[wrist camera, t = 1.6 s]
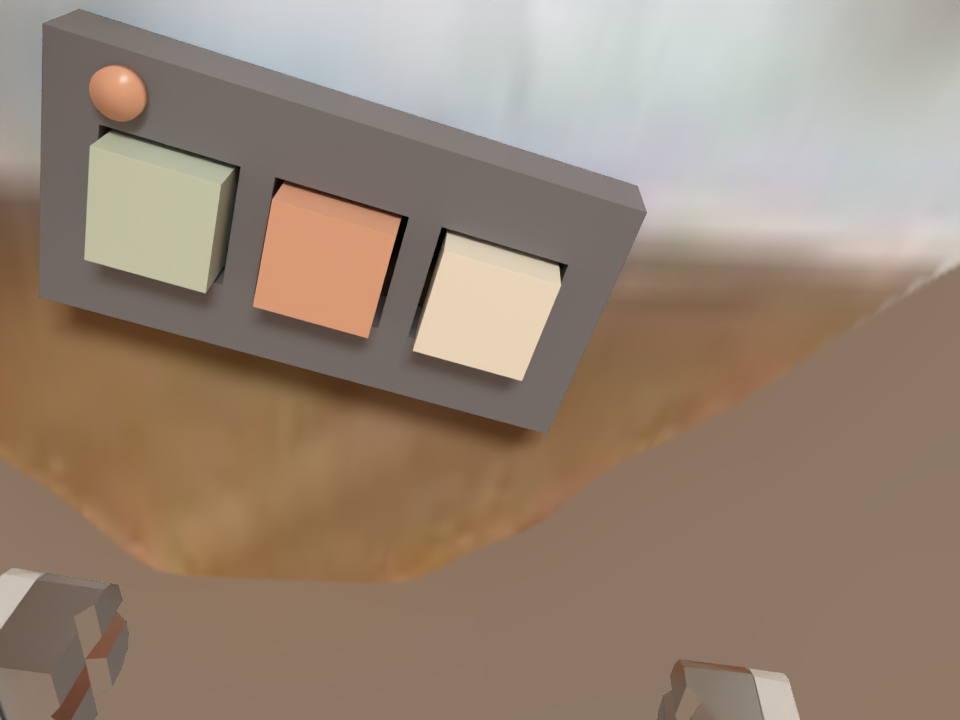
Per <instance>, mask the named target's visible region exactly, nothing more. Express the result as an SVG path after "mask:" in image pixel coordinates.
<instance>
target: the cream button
mask: <svg viewBox="0 0 960 720" xmlns="http://www.w3.org/2000/svg"><path fill="white" fill-rule="evenodd" d="M560 287H561V279H560V270H559V262H557V261H554V260H550V259H547V258H544V257H540V256H537V255H534V254H530V253H527V252H524V251H520V250H517V249H514V248H510V247H507V246H504V245H500V244H497V243H494V242H490V241H487V240H484V239H480V238H477V237H473V236H470V235H467V234H463V233H460V232H457V231H453V230H450V229H446V232H445V236H444V239H443V242H442V245H441V249H440V252H439V255H438V258H437V261H436V265H435V268H434V271H433V274H432V278H431V281H430V284H429V287H428V290H427V294H426V297H425V300H424V303H423V307H422V310H421V313H420V316H419V321H418V326H417V331H416V337H415V342H414V347H413V351H415V352H419V353H422V354H426V355H430V356H433V357H437V358H441V359H444V360H448V361H451V362H455V363H459V364H462V365H466V366H469V367H473V368H477V369H480V370H484V371H487V372H491V373H495V374H498V375H502V376H505V377H509V378H513V379H516V380H520V381H522V380H523V377H524V375H525V372H526V370H527V367H528V365H529V363H530V360H531V358H532V355H533V353H534V350H535V348H536V345H537V343H538V341H539V338H540V336H541V333H542V331H543V328H544V326H545V324H546V321H547V319H548V316H549V314H550V311H551V309H552V306H553V304H554V302H555V299H556V297H557V294H558V292H559V289H560Z"/></svg>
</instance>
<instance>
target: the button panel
mask: <svg viewBox="0 0 960 720" xmlns="http://www.w3.org/2000/svg"><path fill="white" fill-rule="evenodd" d="M112 129H116V130H120V131H123V132H126V133H130V134H133V135H136V136H140V137H143V138H146V139H150V140H153V141H156V142H160V143H163V144H166V145H170V146H173V147H176V148H180V149H183V150H186V151H190V152H193V153H196V154H200V155H203V156H206V157H210V158H213V159H216V160H220V161H223V162H227V163H230V164H233V165H237V166H240V167H241V168H240V175H239V181H238V188H237V194H236V201H235V207H234V214H233V220H232V227H231V233H230V240H229V246H228V253H227V259H226V264H225V265H224V267H223V268H222V270H221V271H220V273H219V274H218V276H217V277H216V279H215V280H214V282H213V283H212V285H211V286H210V288H209V289H208V291H207V292H206V293H203V292H199V291H195V290H192V289H188V288H185V287H181V286H177V285H174V284H170V283H167V282H163V281H159V280H156V279H152V278H148V277H145V276H141V275H138V274H134V273H130V272H127V271H123V270H120V269H116V268H112V267H109V266H105V265H102V264H98V263H94V262H91V261H87V260H84V254H85V234H86V214H87V193H88V173H89V152H90V145H92V144H93V143H94V142H96V141H97V140H99V139H100V138H101V137H103V136H104V135H105V134H107V133H108V132H110V131H111V130H112ZM285 180H287V181H290V182H293V183H297V184H300V185H303V186H307V187H310V188H313V189H317V190H320V191H323V192H327V193H330V194H333V195H337V196H340V197H343V198H347V199H350V200H353V201H357V202H360V203H363V204H367V205H370V206H373V207H377V208H380V209H383V210H387V211H390V212H393V213H397V214H400V215H403V216H407V217H409V219H408V222H407V226H406V229H405V233H404V236H403V240H402V244H401V247H400V251H399V254H398V258H397V261H396V265H395V269H394V272H393V276H392V279H391V283H390V286H389V290H388V293H387V297H386V296H382V295H380V298H379V302H378V305H377V309H376V312H375V316H374V319H373V323H372V326H371V329H370V333H369V336H368V338H365V337H361V336H358V335H354V334H350V333H347V332H343V331H340V330H336V329H332V328H329V327H325V326H322V325H318V324H314V323H311V322H307V321H304V320H300V319H296V318H293V317H289V316H285V315H282V314H278V313H275V312H271V311H267V310H264V309H260V308H257V307H253V303H254V298H255V292H256V286H257V281H258V275H259V270H260V264H261V259H262V253H263V248H264V242H265V237H266V231H267V225H268V220H269V214H270V209H271V203H272V199H273V198H274V196H275V195H276V193H277V192H278V190H279V189H280V187H281V186H282V184H283V183H284V181H285ZM646 214H647V211H646V209H645V206H644V203H643V200H642V197H641V195H640V192H639V189H638V186H635V185H632V184H629V183H626V182H623V181H620V180H616V179H613V178H610V177H607V176H604V175H601V174H598V173H594V172H591V171H588V170H585V169H582V168H579V167H575V166H572V165H569V164H566V163H563V162H560V161H557V160H553V159H550V158H547V157H544V156H541V155H538V154H534V153H531V152H528V151H525V150H522V149H519V148H515V147H512V146H509V145H506V144H503V143H500V142H497V141H493V140H490V139H487V138H484V137H481V136H478V135H474V134H471V133H468V132H465V131H462V130H459V129H456V128H452V127H449V126H446V125H443V124H440V123H437V122H433V121H430V120H427V119H424V118H421V117H418V116H415V115H411V114H408V113H405V112H402V111H399V110H396V109H392V108H389V107H386V106H383V105H380V104H377V103H374V102H370V101H367V100H364V99H361V98H358V97H355V96H351V95H348V94H345V93H342V92H339V91H336V90H332V89H329V88H326V87H323V86H320V85H317V84H314V83H310V82H307V81H304V80H301V79H298V78H295V77H291V76H288V75H285V74H282V73H279V72H276V71H273V70H269V69H266V68H263V67H260V66H257V65H254V64H250V63H247V62H244V61H241V60H238V59H235V58H232V57H228V56H225V55H222V54H219V53H216V52H213V51H209V50H206V49H203V48H200V47H197V46H194V45H191V44H187V43H184V42H181V41H178V40H175V39H172V38H168V37H165V36H162V35H159V34H156V33H153V32H149V31H146V30H143V29H140V28H137V27H134V26H131V25H127V24H124V23H121V22H118V21H115V20H112V19H108V18H105V17H102V16H99V15H96V14H93V13H90V12H86V11H83V10H80V9H78V10H76V11H73V12H71V13H68V14H66V15H63V16H61V17H58V18H56V19H53V20H51V21H48V22H46V23H43V46H42V110H41V174H40V238H39V297H40V298H44V299H48V300H51V301H55V302H59V303H63V304H66V305H70V306H74V307H77V308H81V309H85V310H89V311H92V312H96V313H100V314H103V315H107V316H111V317H114V318H118V319H122V320H126V321H129V322H133V323H137V324H140V325H144V326H148V327H152V328H155V329H159V330H163V331H166V332H170V333H174V334H178V335H181V336H185V337H189V338H192V339H196V340H200V341H204V342H207V343H211V344H215V345H218V346H222V347H226V348H230V349H233V350H237V351H241V352H244V353H248V354H252V355H256V356H259V357H263V358H267V359H270V360H274V361H278V362H281V363H285V364H289V365H293V366H296V367H300V368H304V369H307V370H311V371H315V372H319V373H322V374H326V375H330V376H333V377H337V378H341V379H345V380H348V381H352V382H356V383H359V384H363V385H367V386H371V387H374V388H378V389H382V390H385V391H389V392H393V393H397V394H400V395H404V396H408V397H411V398H415V399H419V400H423V401H426V402H430V403H434V404H437V405H441V406H445V407H448V408H452V409H456V410H460V411H463V412H467V413H471V414H474V415H478V416H482V417H486V418H489V419H493V420H497V421H500V422H504V423H508V424H512V425H515V426H519V427H523V428H526V429H530V430H534V431H538V432H541V433H545V434H548V431H549V429H550V427H551V425H552V422H553V420H554V418H555V416H556V414H557V411H558V409H559V407H560V405H561V402H562V400H563V398H564V396H565V394H566V391H567V389H568V387H569V385H570V382H571V380H572V378H573V376H574V374H575V371H576V369H577V367H578V365H579V362H580V360H581V358H582V356H583V354H584V351H585V349H586V347H587V345H588V342H589V340H590V338H591V336H592V334H593V331H594V329H595V327H596V325H597V322H598V320H599V318H600V316H601V314H602V311H603V309H604V307H605V305H606V302H607V300H608V298H609V296H610V294H611V291H612V289H613V287H614V285H615V282H616V280H617V278H618V276H619V274H620V271H621V269H622V267H623V265H624V262H625V260H626V258H627V256H628V254H629V251H630V249H631V247H632V245H633V242H634V240H635V238H636V236H637V234H638V231H639V229H640V227H641V225H642V222H643V220H644V218H645V216H646ZM442 227H443V228H447V229H450V230H453V231H457V232H460V233H463V234H467V235H470V236H473V237H477V238H480V239H484V240H487V241H490V242H494V243H497V244H500V245H504V246H507V247H510V248H514V249H517V250H520V251H524V252H527V253H530V254H534V255H537V256H540V257H544V258H547V259H550V260H554V261H557V262H559V270H560V279H561V287H560V289H559V292H558V294H557V297H556V299H555V302H554V304H553V306H552V309H551V311H550V314H549V316H548V319H547V321H546V324H545V326H544V328H543V331H542V333H541V336H540V338H539V341H538V343H537V345H536V348H535V350H534V353H533V355H532V358H531V360H530V363H529V365H528V367H527V370H526V372H525V375H524V377H523V380H522V381H520V380H516V379H513V378H509V377H505V376H502V375H498V374H495V373H491V372H487V371H484V370H480V369H477V368H473V367H469V366H466V365H462V364H459V363H455V362H451V361H448V360H444V359H441V358H437V357H433V356H430V355H426V354H422V353H419V352H415V351H413V347H414V342H415V337H416V331H417V326H418V321H419V316H420V313H421V310H422V307H421V306H418V303H419V299H420V296H421V293H422V290H423V286H424V283H425V280H426V277H427V273H428V270H429V267H430V264H431V260H432V257H433V254H434V250H435V247H436V244H437V241H438V237H439V234H440V231H441V228H442Z"/></svg>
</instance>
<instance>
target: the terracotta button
mask: <svg viewBox="0 0 960 720" xmlns="http://www.w3.org/2000/svg"><path fill="white" fill-rule="evenodd" d="M401 218H402V215H400V214H397V213H393V212H390V211H387V210H383V209H380V208H377V207H373V206H370V205H367V204H363V203H360V202H357V201H353V200H350V199H347V198H343V197H340V196H337V195H333V194H330V193H327V192H323V191H320V190H317V189H313V188H310V187H307V186H303V185H300V184H297V183H293V182H290V181H287V180H285V181H284V183H283V184H282V186H281V187H280V189H279V190H278V192H277V193H276V195H275V196H274V198H273V199H272V203H271V209H270V214H269V220H268V225H267V231H266V237H265V242H264V248H263V253H262V259H261V264H260V270H259V275H258V281H257V286H256V292H255V298H254V303H253V307H257V308H260V309H264V310H267V311H271V312H275V313H278V314H282V315H285V316H289V317H293V318H296V319H300V320H304V321H307V322H311V323H314V324H318V325H322V326H325V327H329V328H332V329H336V330H340V331H343V332H347V333H350V334H354V335H358V336H361V337H365V338H368V336H369V333H370V329H371V326H372V323H373V319H374V316H375V312H376V309H377V305H378V302H379V298H380V294H381V291H382V287H383V283H384V280H385V276H386V273H387V269H388V265H389V262H390V258H391V254H392V251H393V247H394V244H395V240H396V236H397V233H398V229H399V225H400V222H401Z"/></svg>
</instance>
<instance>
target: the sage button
mask: <svg viewBox="0 0 960 720" xmlns="http://www.w3.org/2000/svg"><path fill="white" fill-rule="evenodd" d="M240 168H241V167H240V166H237V165H233V164H230V163H227V162H223V161H220V160H216V159H213V158H210V157H206V156H203V155H200V154H196V153H193V152H190V151H186V150H183V149H180V148H176V147H173V146H170V145H166V144H163V143H160V142H156V141H153V140H150V139H146V138H143V137H140V136H136V135H133V134H130V133H126V132H123V131H120V130H116V129H112V130H111V131H110V132H108V133H107V134H105V135H104V136H103V137H101V138H100V139H99V140H97V141H96V142H94V143H93V144H92V145H90V152H89V173H88V193H87V214H86V234H85V254H84V260H87V261H91V262H94V263H98V264H102V265H105V266H109V267H112V268H116V269H120V270H123V271H127V272H130V273H134V274H138V275H141V276H145V277H148V278H152V279H156V280H159V281H163V282H167V283H170V284H174V285H177V286H181V287H185V288H188V289H192V290H195V291H199V292H203V293H206V292H207V291H208V289H209V288H210V286H211V285H212V283H213V282H214V280H215V279H216V277H217V276H218V274H219V273H220V271H221V270H222V268H223V267H224V265H225V264H226V259H227V253H228V246H229V240H230V233H231V227H232V220H233V214H234V207H235V201H236V194H237V188H238V181H239V175H240Z"/></svg>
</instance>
